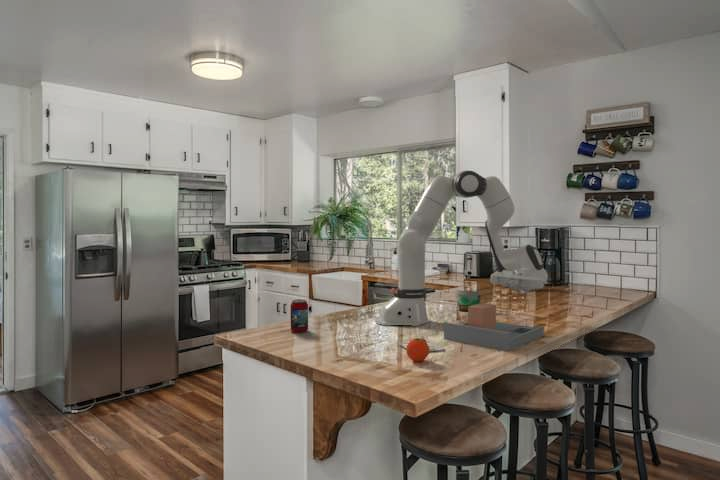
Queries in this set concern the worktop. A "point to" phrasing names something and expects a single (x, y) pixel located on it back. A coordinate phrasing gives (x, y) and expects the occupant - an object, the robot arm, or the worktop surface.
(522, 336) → the tray
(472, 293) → the potted plant
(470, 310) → the block
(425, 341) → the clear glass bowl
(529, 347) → the worktop surface
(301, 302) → the beverage can
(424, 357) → the red tomato
